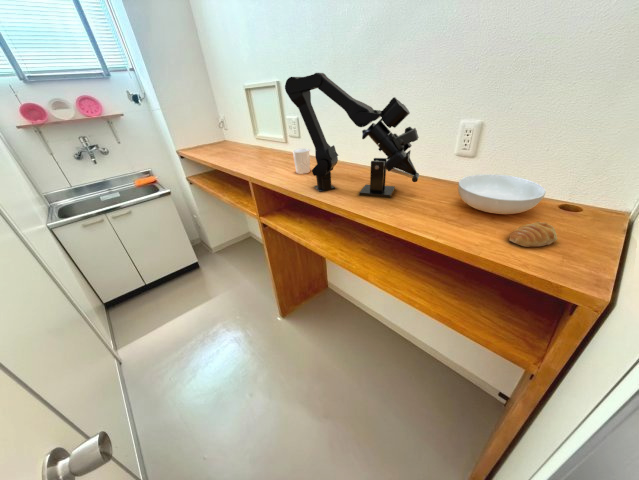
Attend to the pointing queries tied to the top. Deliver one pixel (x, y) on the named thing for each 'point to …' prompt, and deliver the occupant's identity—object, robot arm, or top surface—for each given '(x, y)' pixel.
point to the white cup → (302, 160)
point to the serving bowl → (500, 193)
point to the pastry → (534, 235)
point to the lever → (405, 174)
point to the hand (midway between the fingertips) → (415, 174)
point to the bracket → (377, 181)
